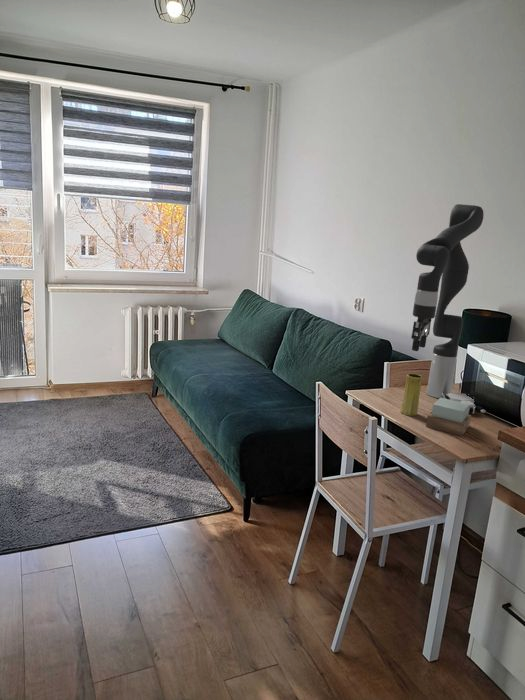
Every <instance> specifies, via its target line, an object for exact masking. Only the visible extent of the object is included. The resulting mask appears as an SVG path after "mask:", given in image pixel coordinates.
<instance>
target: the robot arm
mask: <svg viewBox="0 0 525 700" xmlns="http://www.w3.org/2000/svg"><path fill="white" fill-rule="evenodd" d="M484 214H485V213H484V209H483V208H482V206H478V205H473V204H459V203H458V204H455V205H454V206H453V207H452V209H451V212H450V216H449V222H448V223H449V225H448V227H447V228H444V229H443V230H441V232H440V233H438V235H437V236H436V237H434V238H432V239H431V240H428V241H426V242H425V243H423V244H421V245H420V246H419V248H418V249H417V252H416V261H417V262H418V264H419V265H422V266H429V267H433V269H432V270H431V271H429V272H422V273H420V274H419V276H418V281H417V288H416V291H415V292H416V293H415V295H414V302H413V303H414V304H413V310H412V316H413V317H414V318H415V317H416V318H417V319H416V321H413V326H412V332H411V339H412V340H413V341H412V347H411V350H412V351H413V352H418V351H419V350H420V348H423V349H424V348H425V347H426V343H427V338H428V336H429V335H430V330H431V322H432V319H434V321H433V324H432V325H433V326H432V333H433V336H435V337H437V338H445V339H450V340H449V341H446V342H445V343H441V344H436V345H434V346H433V349H432V356H431V363H430V369H429V374H428V375H429V376H428V382H427V388H426V395H427V396H429V397H432V398H435V399H439V398H444V397H445V396H446V395H447V394H448V393H452V392H451V391H452V387H453V380H454V374H455V369H456V365H457V364H456V363H457V357H458V350H459V344H460V340H461V335H462V331H463V327H464V319H463V317H462V316H460V315H453V314H448V313H447V314H445V312H446V309H447V308H448V307H449V305H450V303H451V302H452V300H453V299H454V298H455V297H456V296H457V295H458V294H459V292H461V291H462V290H463V289H464V287H465V286H466V284H467V281H468V276H469V270H470V264H469V261H468V258H467V256H466V254H465V251H464V249H463V247H462V243H461V241H462V240H464V239H465V238H468V237H469V236H470V235H471V234H474V233H475V232H476V231H478V230H479V229H480V227H481V226H482V224H483V220H484ZM440 281H441V282H440ZM439 287H440V290H439ZM442 393H443V395H444V397H443V395H442Z"/></svg>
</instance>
